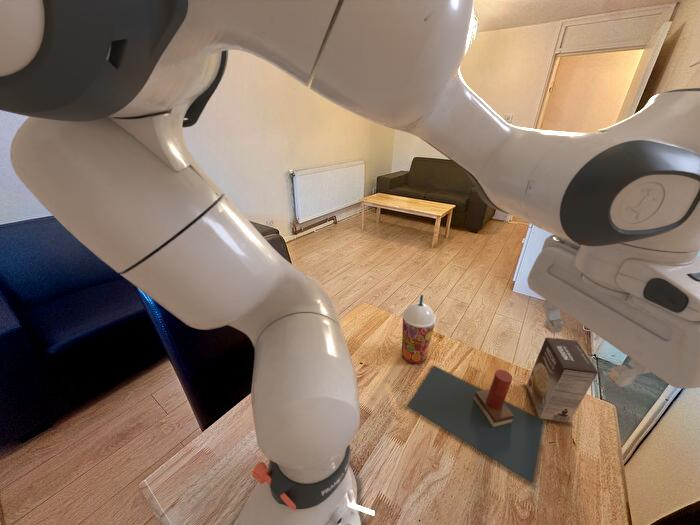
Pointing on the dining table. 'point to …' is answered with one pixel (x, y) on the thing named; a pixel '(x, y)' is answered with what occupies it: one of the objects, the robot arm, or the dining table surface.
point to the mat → (479, 422)
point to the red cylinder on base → (496, 399)
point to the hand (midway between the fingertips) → (581, 352)
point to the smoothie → (417, 331)
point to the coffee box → (560, 379)
